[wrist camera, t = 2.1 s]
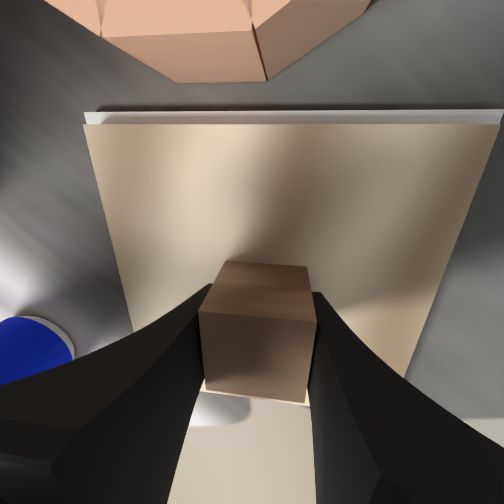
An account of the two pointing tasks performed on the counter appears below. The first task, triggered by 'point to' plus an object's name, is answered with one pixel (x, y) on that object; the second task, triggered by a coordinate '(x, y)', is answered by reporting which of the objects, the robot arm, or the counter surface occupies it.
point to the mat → (301, 117)
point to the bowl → (214, 33)
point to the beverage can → (31, 347)
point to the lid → (286, 234)
